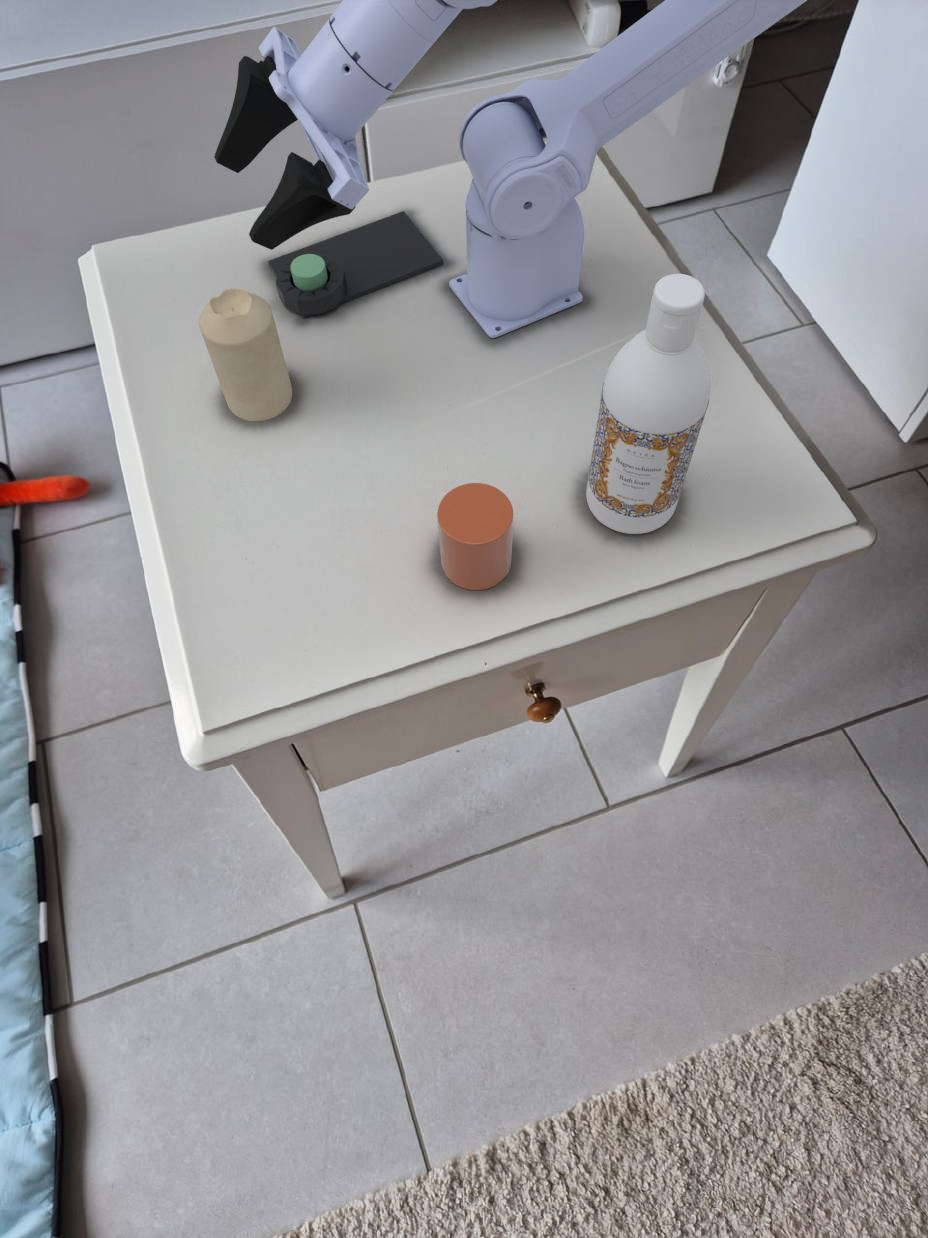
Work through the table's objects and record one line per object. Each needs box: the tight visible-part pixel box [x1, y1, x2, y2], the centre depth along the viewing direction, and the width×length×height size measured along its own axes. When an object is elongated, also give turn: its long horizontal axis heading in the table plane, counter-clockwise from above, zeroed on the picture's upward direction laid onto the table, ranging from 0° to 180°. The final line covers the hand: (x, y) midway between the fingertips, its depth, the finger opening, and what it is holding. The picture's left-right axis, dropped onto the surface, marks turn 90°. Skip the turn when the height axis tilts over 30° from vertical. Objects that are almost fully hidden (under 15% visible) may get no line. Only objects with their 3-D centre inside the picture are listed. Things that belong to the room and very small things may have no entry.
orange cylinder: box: [437, 482, 514, 591], centre depth 64 cm, size 5×5×6 cm
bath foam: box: [585, 273, 712, 535], centre depth 60 cm, size 7×7×20 cm
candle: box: [198, 288, 293, 422], centre depth 71 cm, size 6×6×10 cm
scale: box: [267, 210, 444, 319], centre depth 81 cm, size 15×9×2 cm, turn 119°
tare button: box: [291, 254, 328, 291], centre depth 78 cm, size 3×3×2 cm
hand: (243, 202), depth 66 cm, fingers open, 7 cm apart
